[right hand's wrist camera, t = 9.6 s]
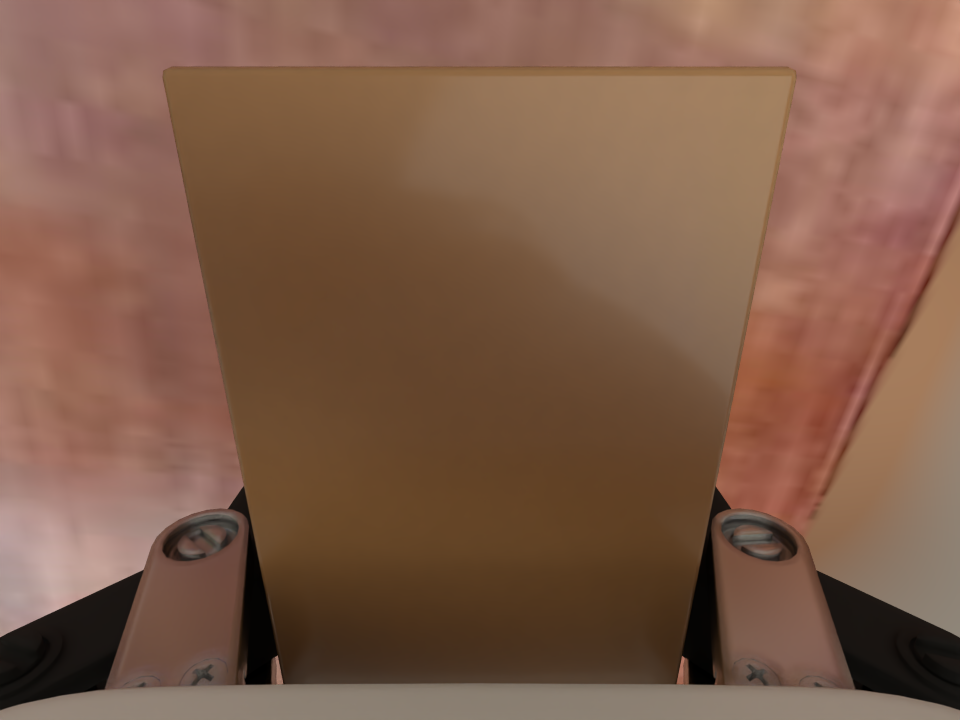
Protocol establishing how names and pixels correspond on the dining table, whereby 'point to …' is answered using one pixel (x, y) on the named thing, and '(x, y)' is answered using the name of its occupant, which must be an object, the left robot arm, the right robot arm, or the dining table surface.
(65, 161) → the dining table surface
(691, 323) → the bar
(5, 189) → the dining table surface
